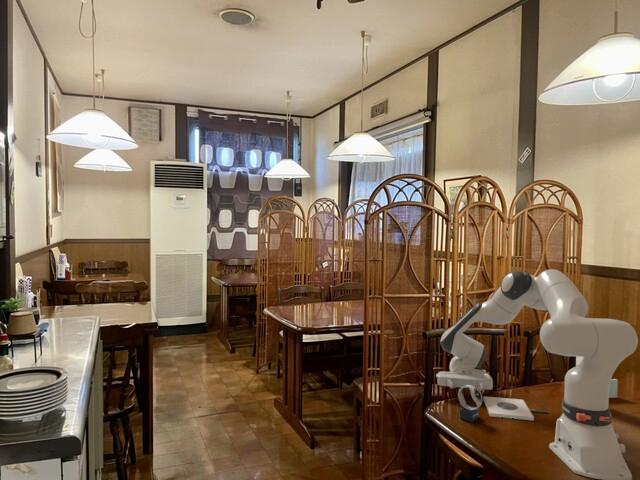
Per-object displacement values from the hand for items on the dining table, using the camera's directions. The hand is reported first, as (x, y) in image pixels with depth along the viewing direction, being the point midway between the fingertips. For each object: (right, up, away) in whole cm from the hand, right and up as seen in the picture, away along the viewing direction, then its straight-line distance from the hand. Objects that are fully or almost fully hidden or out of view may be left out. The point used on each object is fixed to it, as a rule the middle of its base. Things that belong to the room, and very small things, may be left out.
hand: (466, 387), depth 166 cm
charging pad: (+17, -7, -5) cm, 19 cm away
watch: (-3, -7, -12) cm, 14 cm away
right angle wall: (+55, -7, +14) cm, 57 cm away
